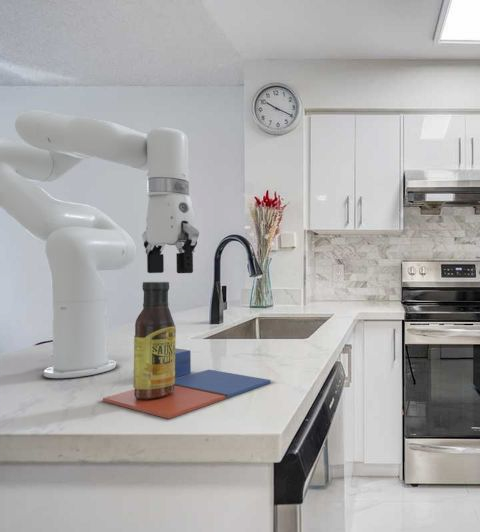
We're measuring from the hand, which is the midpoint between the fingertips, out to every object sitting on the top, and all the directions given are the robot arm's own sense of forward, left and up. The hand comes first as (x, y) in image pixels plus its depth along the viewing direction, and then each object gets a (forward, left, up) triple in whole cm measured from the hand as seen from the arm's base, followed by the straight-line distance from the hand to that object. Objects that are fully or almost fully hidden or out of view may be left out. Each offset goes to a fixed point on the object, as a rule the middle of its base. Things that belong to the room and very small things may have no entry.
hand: (169, 272), depth 86 cm
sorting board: (+13, -4, -22) cm, 26 cm away
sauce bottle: (+10, -10, -21) cm, 26 cm away
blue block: (-1, +1, -22) cm, 22 cm away
